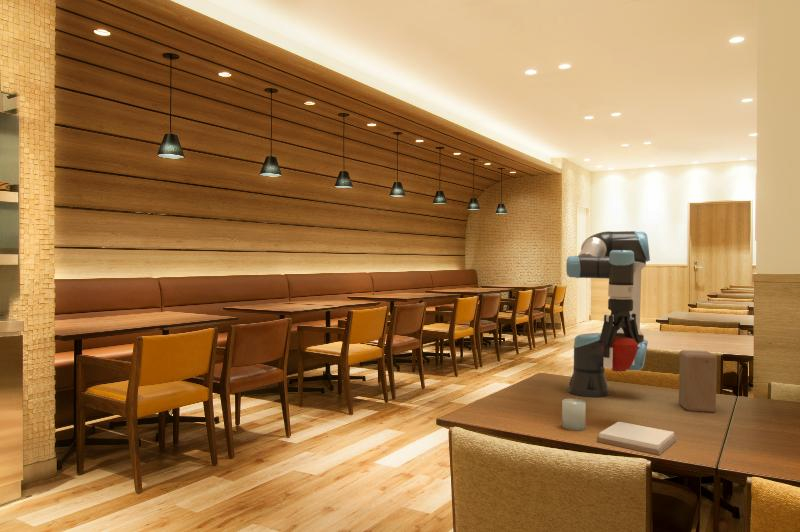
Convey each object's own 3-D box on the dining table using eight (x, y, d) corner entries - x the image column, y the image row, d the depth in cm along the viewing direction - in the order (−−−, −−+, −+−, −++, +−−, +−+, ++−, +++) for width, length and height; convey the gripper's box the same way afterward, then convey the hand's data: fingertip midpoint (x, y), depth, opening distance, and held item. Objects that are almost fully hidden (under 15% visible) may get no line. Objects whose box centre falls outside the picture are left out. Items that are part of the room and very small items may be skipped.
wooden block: (716, 413, 201) (718, 355, 201) (685, 411, 203) (686, 353, 203) (707, 405, 211) (708, 350, 211) (677, 404, 213) (679, 349, 213)
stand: (596, 441, 167) (596, 433, 167) (617, 428, 180) (617, 420, 180) (659, 455, 156) (659, 445, 156) (676, 440, 169) (676, 431, 169)
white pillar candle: (557, 426, 182) (557, 401, 182) (570, 422, 186) (571, 397, 186) (576, 432, 176) (577, 405, 176) (590, 427, 181) (590, 401, 181)
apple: (618, 375, 180) (619, 336, 180) (593, 369, 190) (594, 332, 190) (645, 373, 185) (645, 335, 184) (619, 367, 194) (620, 331, 194)
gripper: (608, 300, 177) (606, 371, 177) (652, 298, 191) (650, 364, 191) (587, 298, 183) (586, 367, 183) (631, 296, 197) (630, 361, 197)
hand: (619, 366), depth 187 cm, fingers closed on apple, 11 cm apart
